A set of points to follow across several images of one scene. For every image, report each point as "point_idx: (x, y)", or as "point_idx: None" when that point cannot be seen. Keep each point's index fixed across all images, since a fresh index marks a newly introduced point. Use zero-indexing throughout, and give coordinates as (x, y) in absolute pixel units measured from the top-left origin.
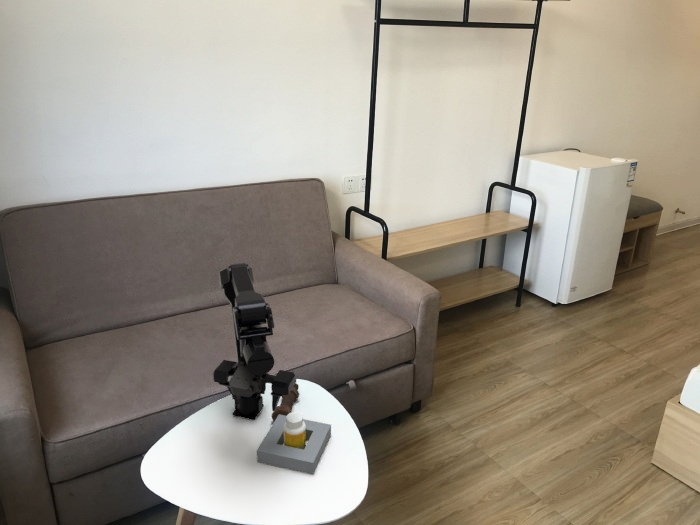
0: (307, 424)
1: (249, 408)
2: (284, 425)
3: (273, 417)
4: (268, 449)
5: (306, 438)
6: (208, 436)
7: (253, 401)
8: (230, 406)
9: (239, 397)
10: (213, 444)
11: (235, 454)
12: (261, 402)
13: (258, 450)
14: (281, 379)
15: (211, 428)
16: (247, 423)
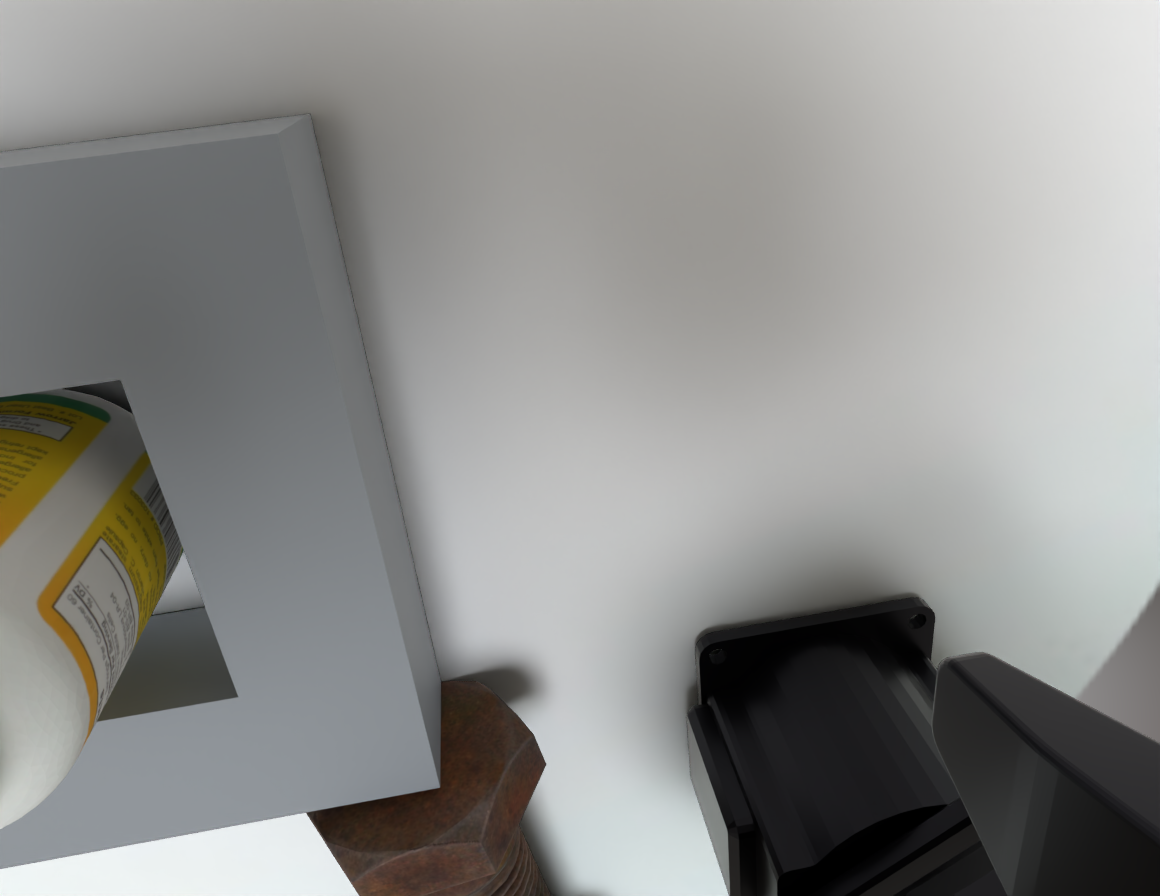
0: None
1: (793, 722)
2: (7, 656)
3: (500, 730)
4: (134, 231)
5: None
6: (1041, 256)
7: (785, 814)
8: None
9: (1012, 847)
10: (943, 167)
11: (630, 126)
12: (714, 831)
13: (253, 146)
14: None
15: (1052, 372)
16: (740, 576)
